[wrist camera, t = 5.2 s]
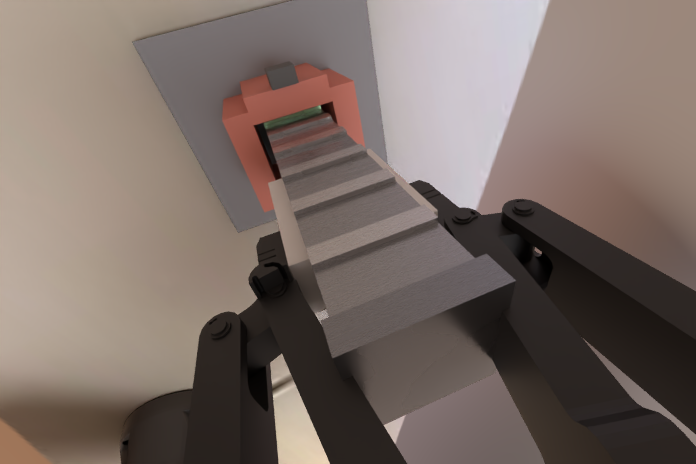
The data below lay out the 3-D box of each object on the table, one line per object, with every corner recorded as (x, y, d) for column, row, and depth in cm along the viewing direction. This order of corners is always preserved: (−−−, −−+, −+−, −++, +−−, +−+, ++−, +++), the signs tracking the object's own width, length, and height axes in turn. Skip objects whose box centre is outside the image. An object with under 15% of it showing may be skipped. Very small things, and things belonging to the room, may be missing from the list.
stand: (237, 227, 30) (240, 275, 24) (135, 41, 20) (99, 50, 14) (385, 175, 32) (419, 208, 26) (359, -17, 22) (404, -29, 16)
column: (280, 174, 24) (366, 432, 9) (258, 118, 21) (332, 358, 6) (332, 156, 24) (495, 373, 10) (318, 100, 22) (515, 280, 7)
